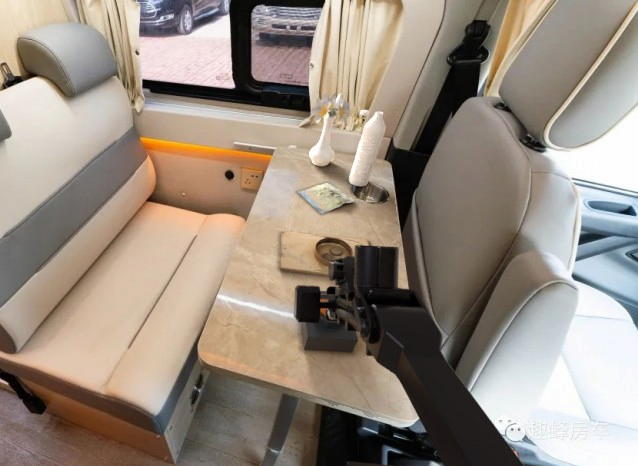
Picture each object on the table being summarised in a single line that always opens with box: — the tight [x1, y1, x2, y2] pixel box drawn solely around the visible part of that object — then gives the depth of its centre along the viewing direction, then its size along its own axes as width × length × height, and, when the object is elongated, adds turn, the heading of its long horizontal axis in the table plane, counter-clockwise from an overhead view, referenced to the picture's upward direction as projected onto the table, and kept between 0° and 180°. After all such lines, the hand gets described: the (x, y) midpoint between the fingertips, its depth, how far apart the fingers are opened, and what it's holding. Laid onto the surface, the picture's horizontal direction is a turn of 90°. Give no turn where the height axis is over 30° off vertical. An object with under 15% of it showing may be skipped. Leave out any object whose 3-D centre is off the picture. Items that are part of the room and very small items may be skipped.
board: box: [279, 230, 371, 277], centre depth 89 cm, size 25×15×3 cm, turn 82°
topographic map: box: [297, 182, 355, 215], centre depth 109 cm, size 14×14×2 cm
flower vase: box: [309, 93, 351, 167], centre depth 119 cm, size 13×18×25 cm
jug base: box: [299, 290, 359, 353], centre depth 71 cm, size 12×10×7 cm
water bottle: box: [348, 109, 387, 187], centre depth 108 cm, size 9×6×25 cm
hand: (335, 298), depth 65 cm, fingers closed
